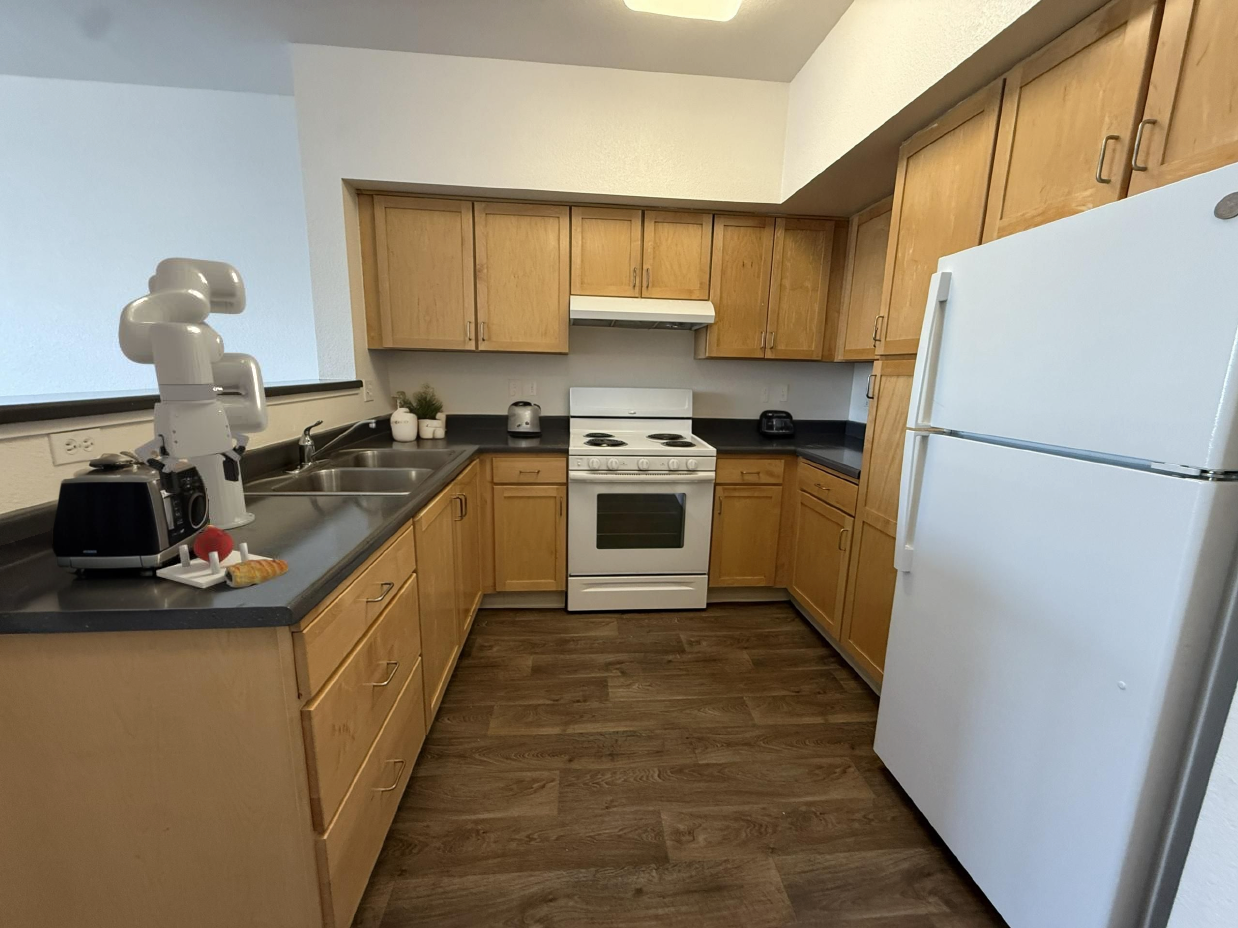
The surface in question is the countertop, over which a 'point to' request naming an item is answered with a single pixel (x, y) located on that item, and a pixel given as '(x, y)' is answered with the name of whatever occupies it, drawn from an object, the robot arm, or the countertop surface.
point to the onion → (213, 544)
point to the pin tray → (205, 567)
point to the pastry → (254, 572)
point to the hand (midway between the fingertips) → (203, 486)
